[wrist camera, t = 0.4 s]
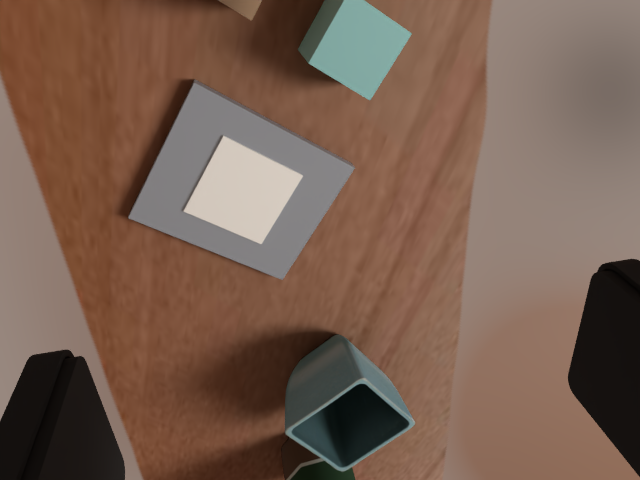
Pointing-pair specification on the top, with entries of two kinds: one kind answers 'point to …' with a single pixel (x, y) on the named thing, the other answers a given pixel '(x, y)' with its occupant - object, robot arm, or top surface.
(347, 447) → the flower pot
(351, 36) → the teal block
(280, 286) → the top surface
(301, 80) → the top surface
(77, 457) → the robot arm
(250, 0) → the walnut block
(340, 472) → the beer bottle
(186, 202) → the pad
